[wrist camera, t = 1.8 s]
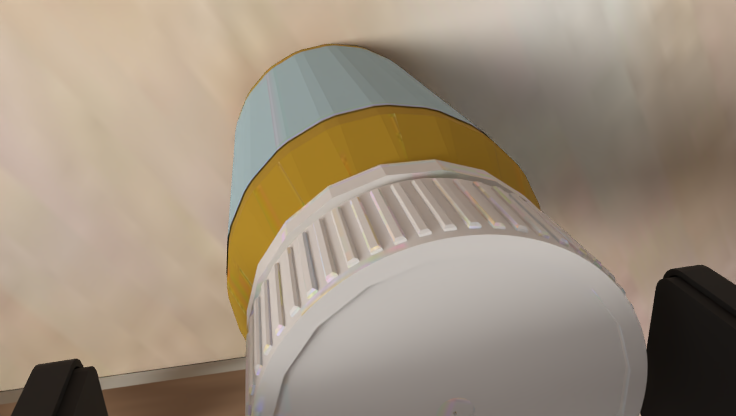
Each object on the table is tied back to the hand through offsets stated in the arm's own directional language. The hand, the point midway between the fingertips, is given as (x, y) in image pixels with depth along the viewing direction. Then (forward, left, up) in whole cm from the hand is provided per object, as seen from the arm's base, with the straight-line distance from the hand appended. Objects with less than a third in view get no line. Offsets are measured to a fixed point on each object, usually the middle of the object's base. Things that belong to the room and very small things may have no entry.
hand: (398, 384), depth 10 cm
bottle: (-1, 0, -14) cm, 14 cm away
